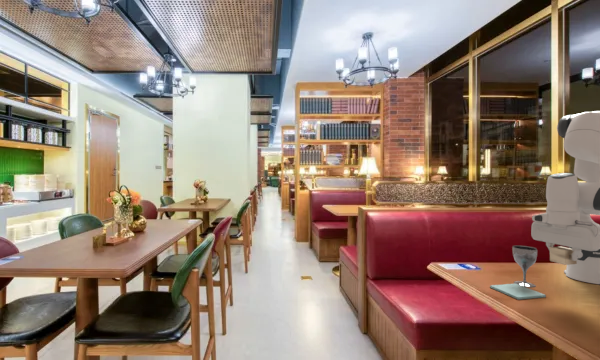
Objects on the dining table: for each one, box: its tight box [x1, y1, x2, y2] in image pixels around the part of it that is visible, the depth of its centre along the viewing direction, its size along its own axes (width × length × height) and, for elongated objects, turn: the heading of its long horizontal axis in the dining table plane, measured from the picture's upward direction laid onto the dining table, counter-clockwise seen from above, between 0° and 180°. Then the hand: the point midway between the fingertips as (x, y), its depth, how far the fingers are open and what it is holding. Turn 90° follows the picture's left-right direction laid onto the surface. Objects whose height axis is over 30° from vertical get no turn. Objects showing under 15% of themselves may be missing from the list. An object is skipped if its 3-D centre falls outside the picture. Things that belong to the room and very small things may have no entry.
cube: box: [549, 245, 577, 266], centre depth 102 cm, size 5×5×5 cm
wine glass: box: [512, 245, 538, 288], centre depth 118 cm, size 8×8×15 cm
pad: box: [489, 283, 547, 301], centre depth 110 cm, size 12×12×1 cm
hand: (563, 257), depth 103 cm, fingers closed on cube, 5 cm apart
